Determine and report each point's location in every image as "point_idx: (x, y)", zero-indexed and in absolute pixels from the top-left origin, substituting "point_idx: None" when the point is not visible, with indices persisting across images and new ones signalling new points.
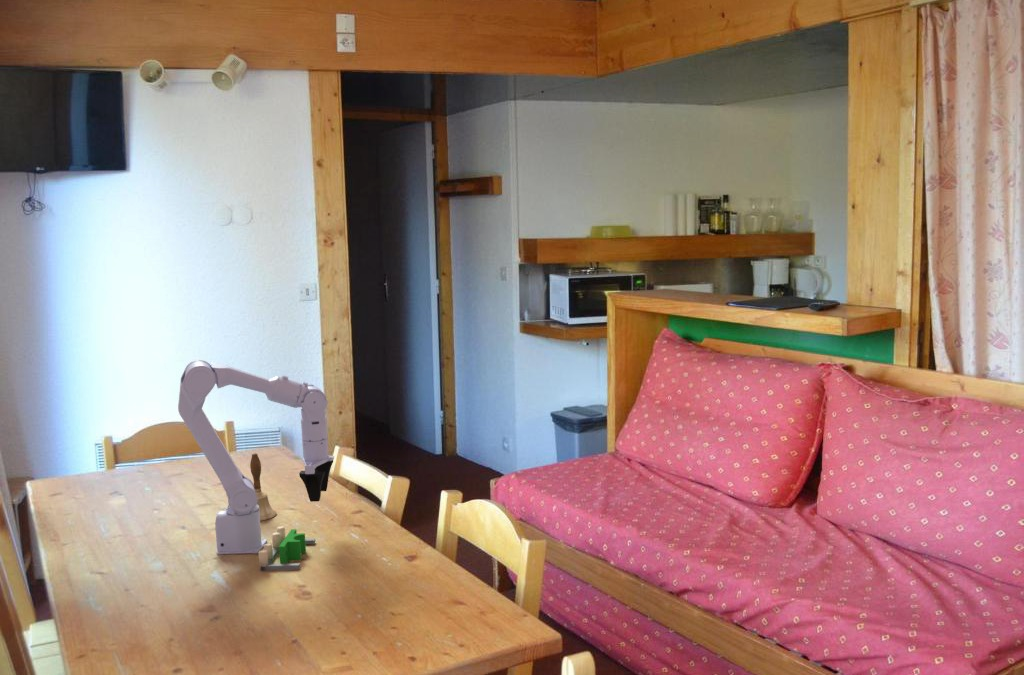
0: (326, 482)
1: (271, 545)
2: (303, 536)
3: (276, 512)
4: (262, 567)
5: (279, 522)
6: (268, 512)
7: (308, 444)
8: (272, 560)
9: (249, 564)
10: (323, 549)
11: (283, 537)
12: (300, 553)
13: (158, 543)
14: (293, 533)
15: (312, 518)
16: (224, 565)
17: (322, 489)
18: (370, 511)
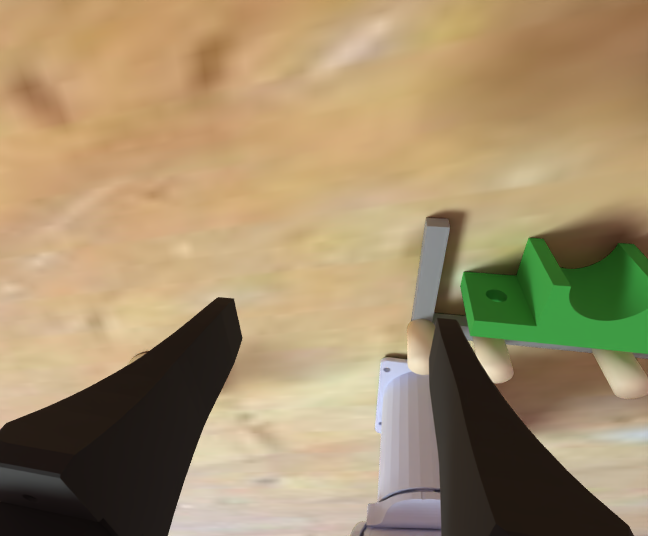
0: (205, 335)
1: (646, 378)
2: (566, 283)
3: (143, 354)
4: None
5: None
6: None
7: None
8: None
9: (588, 378)
10: (523, 173)
11: (432, 332)
12: (641, 259)
13: (360, 505)
14: (530, 325)
15: (160, 261)
16: (564, 423)
17: (232, 323)
18: (10, 33)
